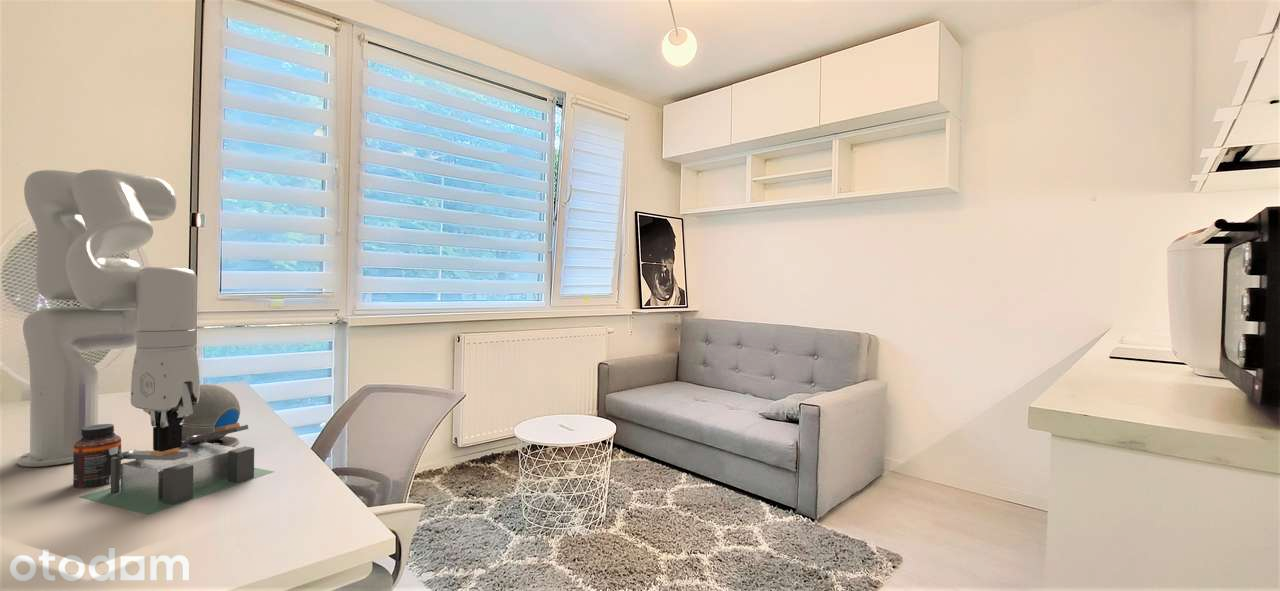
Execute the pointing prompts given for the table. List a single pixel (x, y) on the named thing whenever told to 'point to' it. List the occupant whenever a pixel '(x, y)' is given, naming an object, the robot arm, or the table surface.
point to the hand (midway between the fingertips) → (167, 448)
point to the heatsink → (148, 474)
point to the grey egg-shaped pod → (212, 415)
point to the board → (155, 504)
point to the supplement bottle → (95, 456)
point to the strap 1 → (153, 455)
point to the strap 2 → (217, 432)
